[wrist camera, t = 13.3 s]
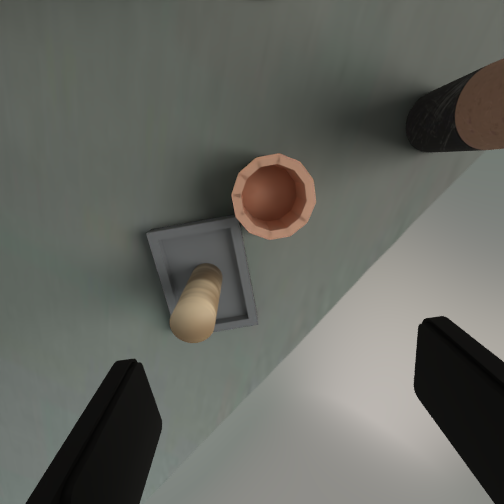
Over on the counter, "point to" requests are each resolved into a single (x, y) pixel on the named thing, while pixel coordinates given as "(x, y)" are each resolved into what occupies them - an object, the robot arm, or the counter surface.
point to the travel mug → (461, 114)
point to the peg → (198, 305)
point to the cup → (273, 196)
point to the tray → (207, 251)
